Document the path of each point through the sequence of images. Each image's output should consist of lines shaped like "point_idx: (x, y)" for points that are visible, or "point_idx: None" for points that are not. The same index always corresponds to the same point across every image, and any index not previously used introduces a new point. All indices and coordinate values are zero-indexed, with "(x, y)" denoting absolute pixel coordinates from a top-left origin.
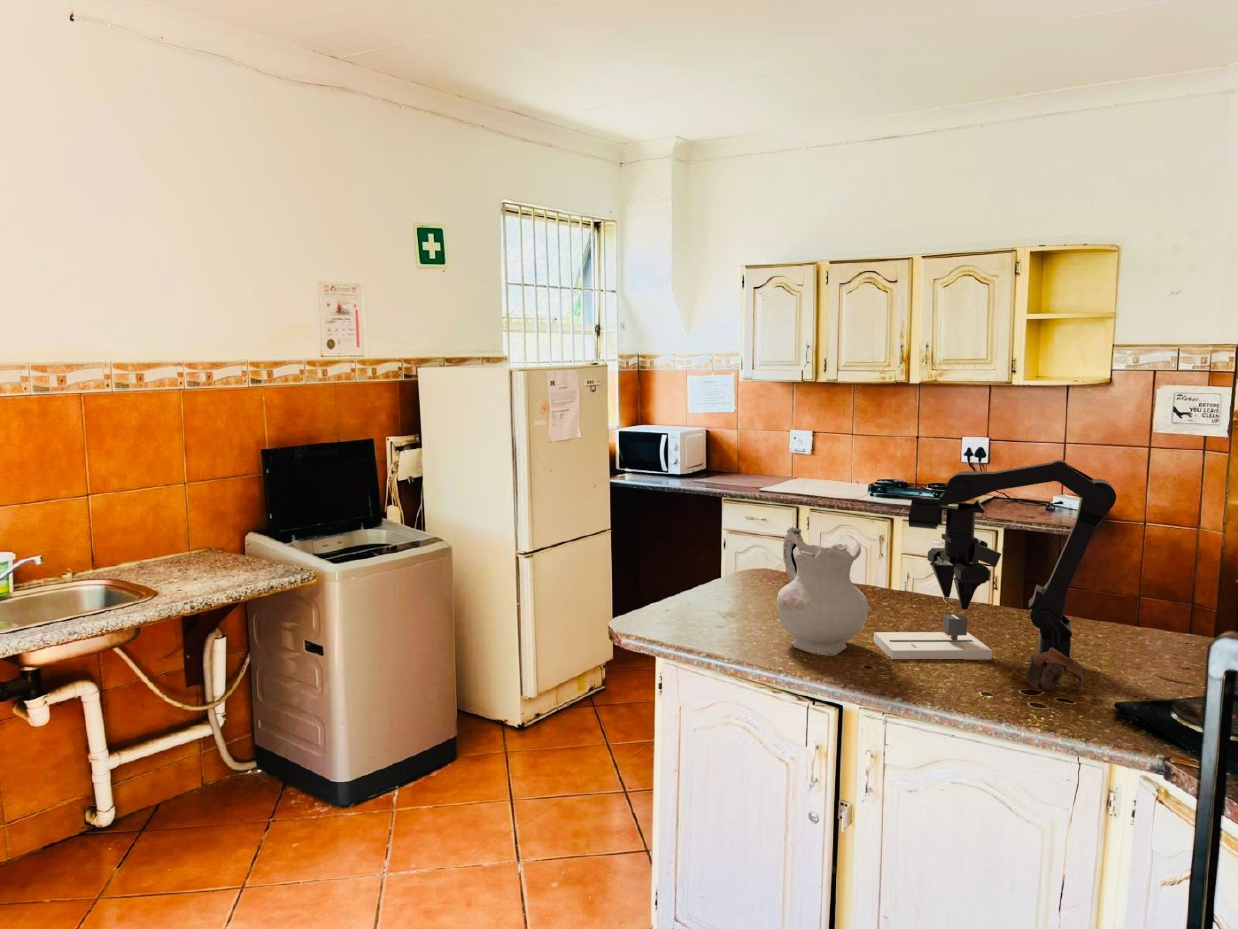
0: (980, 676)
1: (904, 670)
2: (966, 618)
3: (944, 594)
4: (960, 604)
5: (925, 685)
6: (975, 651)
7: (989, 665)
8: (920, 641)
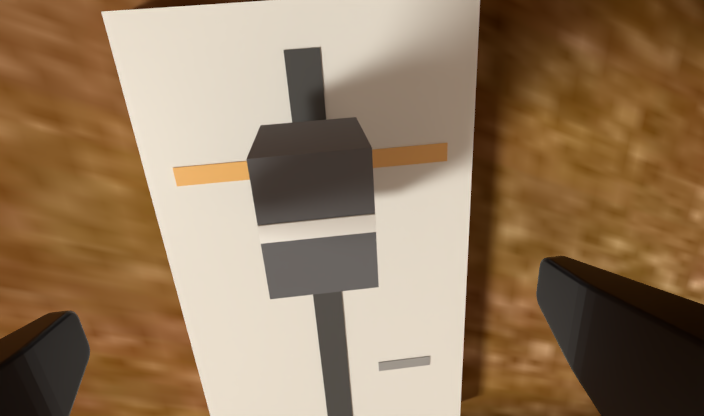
0: (666, 141)
1: (552, 386)
2: (354, 150)
3: (75, 380)
4: (568, 347)
5: None
6: (472, 93)
7: (543, 40)
8: (340, 327)
